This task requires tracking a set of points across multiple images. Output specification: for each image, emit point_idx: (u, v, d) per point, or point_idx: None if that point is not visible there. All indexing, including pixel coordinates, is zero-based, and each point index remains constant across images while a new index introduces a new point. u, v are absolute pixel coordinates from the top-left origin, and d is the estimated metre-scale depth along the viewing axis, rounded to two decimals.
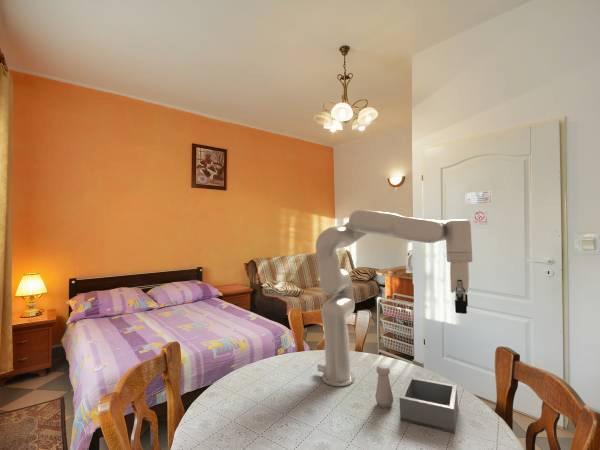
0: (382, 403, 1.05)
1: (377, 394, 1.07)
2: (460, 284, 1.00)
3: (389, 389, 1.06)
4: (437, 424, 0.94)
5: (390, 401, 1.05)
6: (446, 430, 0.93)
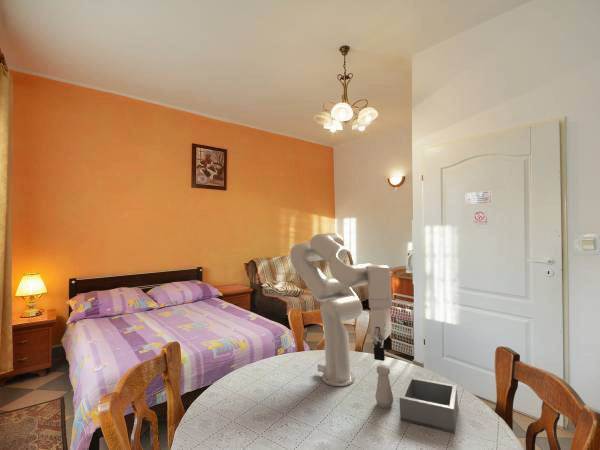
0: (382, 403, 1.05)
1: (377, 394, 1.07)
2: (377, 332, 1.02)
3: (389, 389, 1.06)
4: (437, 424, 0.94)
5: (390, 401, 1.05)
6: (446, 430, 0.93)
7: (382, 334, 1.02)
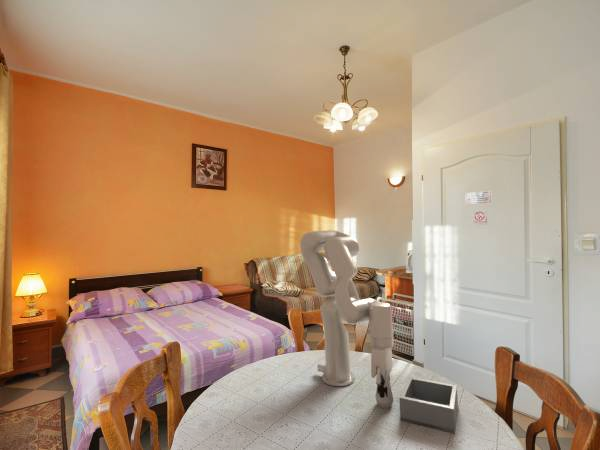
0: (382, 403, 1.05)
1: (377, 394, 1.07)
2: (379, 376, 1.03)
3: (389, 389, 1.06)
4: (437, 424, 0.94)
5: (390, 401, 1.05)
6: (446, 430, 0.93)
7: (383, 374, 1.03)
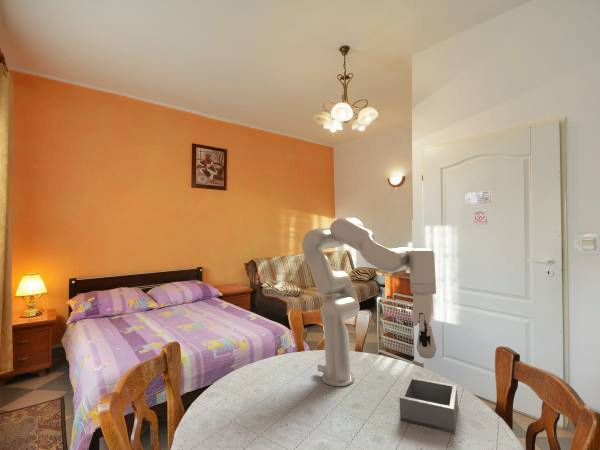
0: (425, 352, 0.99)
1: None
2: (422, 322, 0.97)
3: (432, 338, 1.00)
4: (437, 424, 0.94)
5: (433, 350, 0.99)
6: (446, 430, 0.93)
7: (427, 321, 0.97)
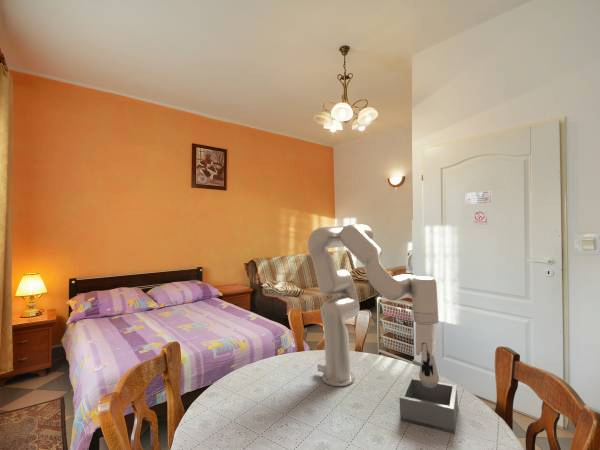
0: (428, 382, 0.99)
1: (421, 373, 1.01)
2: (425, 353, 0.97)
3: (434, 367, 1.00)
4: (437, 424, 0.94)
5: (436, 380, 0.99)
6: (446, 430, 0.93)
7: (429, 351, 0.97)
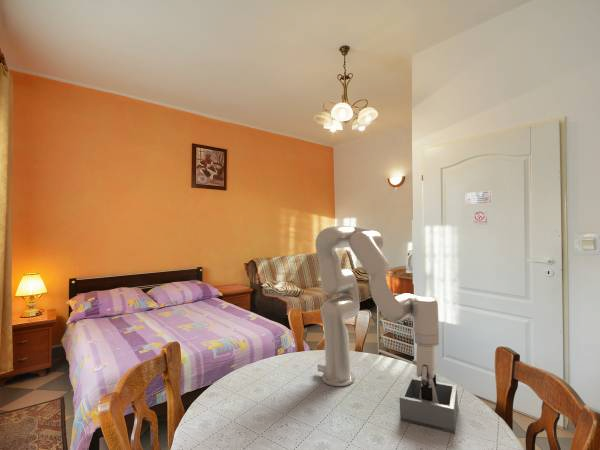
0: None
1: (421, 399, 1.01)
2: (425, 371, 0.96)
3: (434, 393, 1.00)
4: (437, 424, 0.94)
5: None
6: (446, 430, 0.93)
7: (430, 373, 0.97)
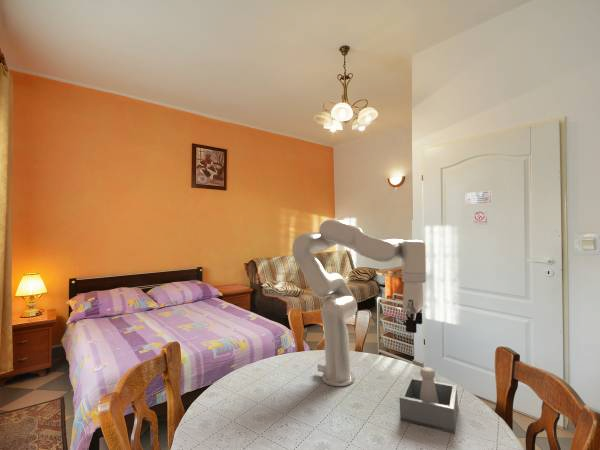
0: None
1: (422, 399, 1.01)
2: (410, 304, 1.03)
3: (435, 393, 1.00)
4: (437, 424, 0.94)
5: None
6: (446, 430, 0.93)
7: (415, 307, 1.04)
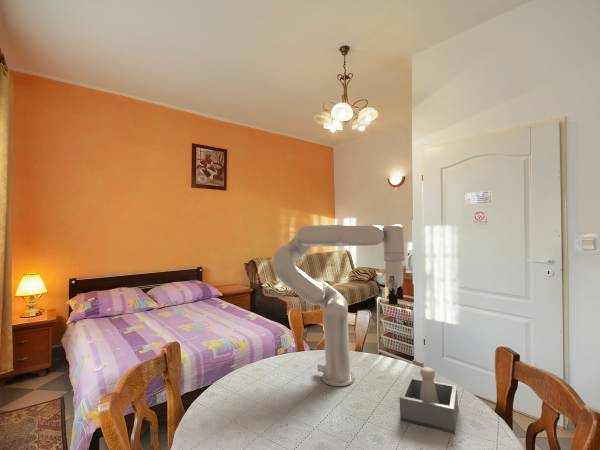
0: None
1: (422, 399, 1.01)
2: (391, 280, 1.18)
3: (435, 393, 1.00)
4: (437, 424, 0.94)
5: None
6: (446, 430, 0.93)
7: (396, 282, 1.19)
